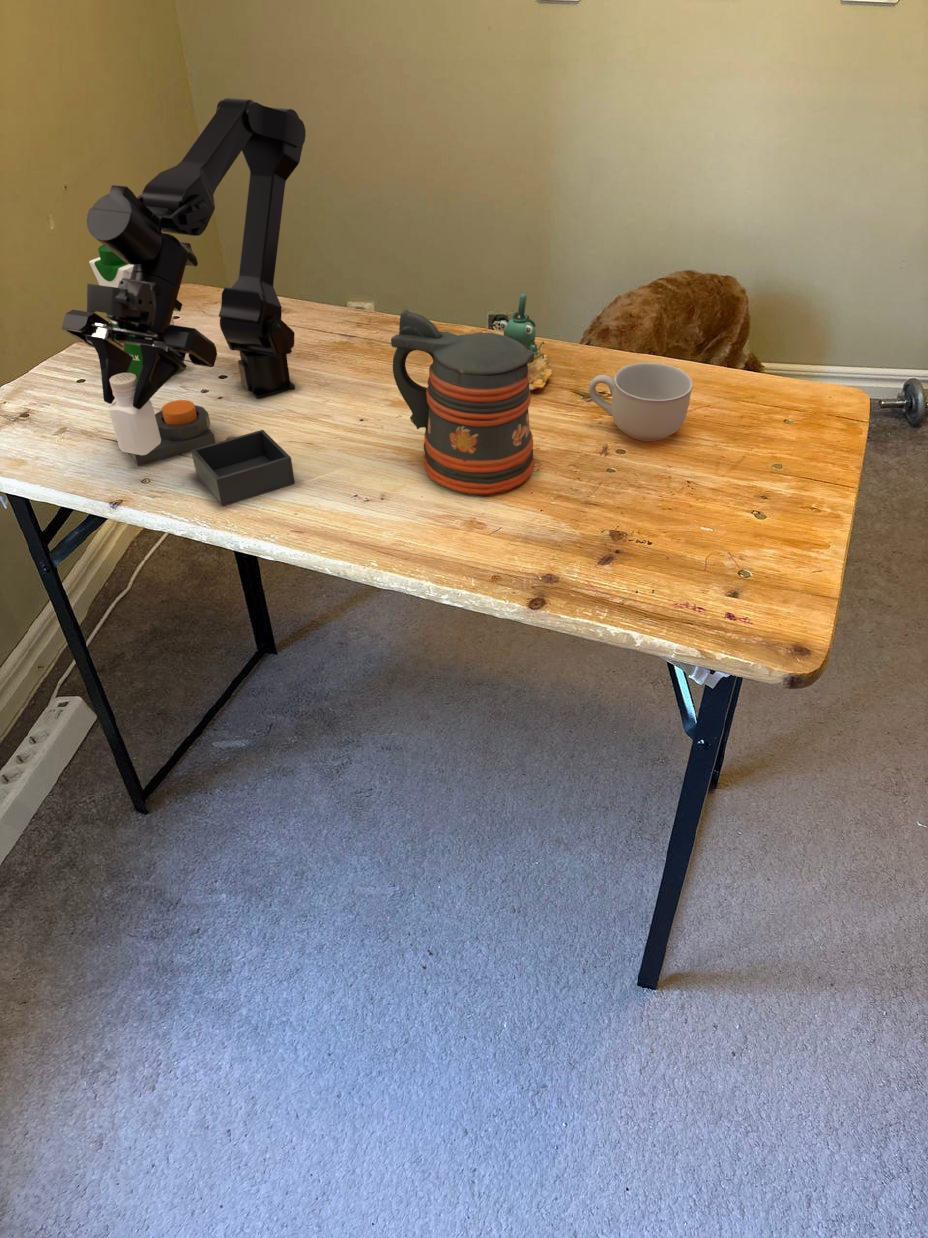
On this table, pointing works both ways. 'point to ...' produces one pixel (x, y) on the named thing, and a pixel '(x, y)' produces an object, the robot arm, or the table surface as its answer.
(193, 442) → the button base
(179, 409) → the button
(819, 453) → the table surface
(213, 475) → the dark grey open box
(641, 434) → the teacup
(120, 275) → the milk carton
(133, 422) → the pepper shaker
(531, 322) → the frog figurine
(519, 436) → the beer stein
